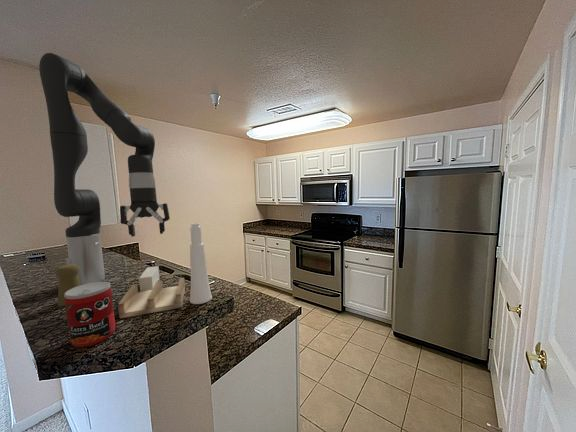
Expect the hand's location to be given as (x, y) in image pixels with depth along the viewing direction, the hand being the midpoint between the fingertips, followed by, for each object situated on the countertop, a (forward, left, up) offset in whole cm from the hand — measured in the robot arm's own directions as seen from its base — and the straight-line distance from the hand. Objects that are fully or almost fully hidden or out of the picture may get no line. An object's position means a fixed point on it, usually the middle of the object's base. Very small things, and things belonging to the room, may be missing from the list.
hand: (147, 234), depth 84 cm
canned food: (-6, -32, -17) cm, 37 cm away
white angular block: (0, -3, -17) cm, 17 cm away
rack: (+4, -18, -17) cm, 25 cm away
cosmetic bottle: (+16, -22, -17) cm, 32 cm away
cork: (-20, -7, -17) cm, 27 cm away
